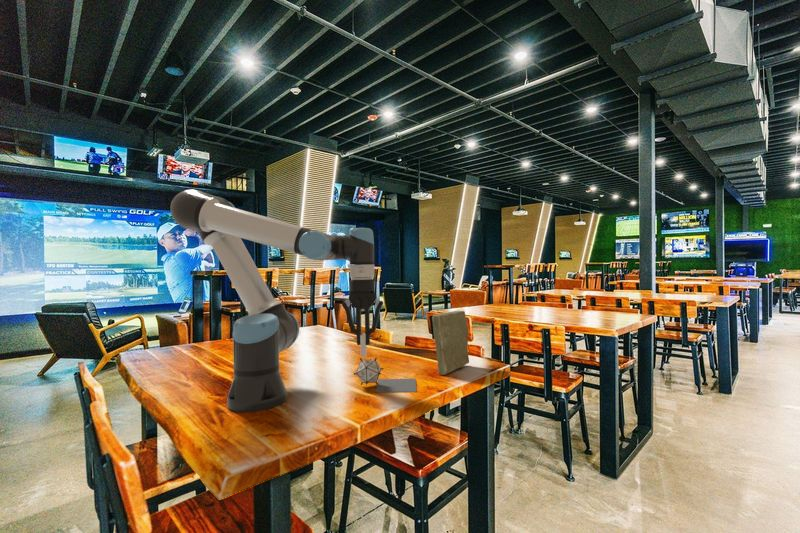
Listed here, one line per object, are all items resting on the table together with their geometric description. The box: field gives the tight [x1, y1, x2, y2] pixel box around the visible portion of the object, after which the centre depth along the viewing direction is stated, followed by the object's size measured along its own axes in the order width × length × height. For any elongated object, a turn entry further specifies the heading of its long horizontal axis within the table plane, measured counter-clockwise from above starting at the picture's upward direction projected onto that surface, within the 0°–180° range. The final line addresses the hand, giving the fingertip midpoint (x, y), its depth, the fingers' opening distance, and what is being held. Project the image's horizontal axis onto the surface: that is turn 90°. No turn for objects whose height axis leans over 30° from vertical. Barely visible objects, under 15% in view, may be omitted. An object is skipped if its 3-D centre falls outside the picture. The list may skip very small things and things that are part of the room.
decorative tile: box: [431, 310, 470, 376], centre depth 130 cm, size 19×6×20 cm, turn 143°
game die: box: [353, 357, 384, 386], centre depth 112 cm, size 9×8×10 cm
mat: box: [375, 378, 418, 394], centre depth 112 cm, size 12×12×1 cm
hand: (363, 355), depth 112 cm, fingers closed
